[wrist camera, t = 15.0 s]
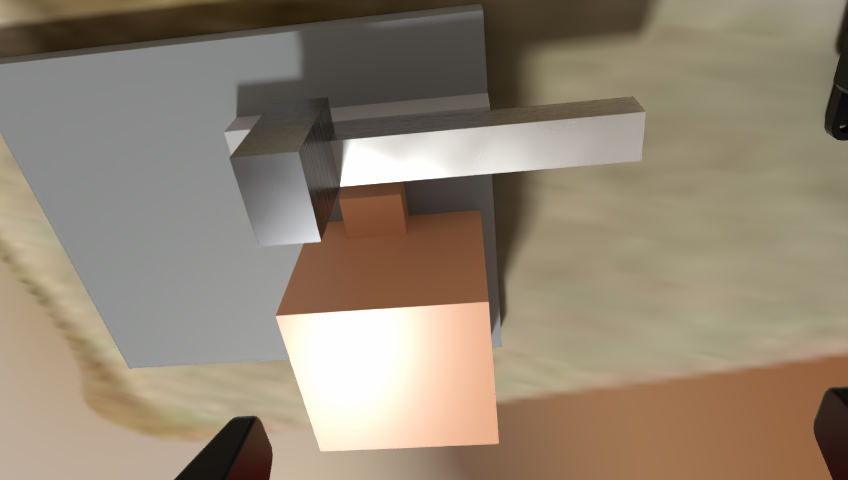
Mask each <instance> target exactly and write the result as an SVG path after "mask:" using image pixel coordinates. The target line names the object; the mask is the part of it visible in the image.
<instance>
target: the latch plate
mask: <svg viewBox="0 0 848 480" xmlns="http://www.w3.org/2000/svg"><path fill="white" fill-rule="evenodd" d="M325 97H328V102H329V107H330V111H331V116H332V121H333V125H340V124H351V123H361V122H372V121H382V120H393V119H403V118H414V117H424V116H434V115H445V114H455V113H466V112H476V111H487V110H490V103H489V97H488V88H487V70H486V52H485V34H484V16H483V7H482V3H480V4H472V5H463V6H454V7H445V8H436V9H427V10H419V11H410V12H401V13H392V14H383V15H374V16H365V17H357V18H348V19H339V20H330V21H321V22H312V23H304V24H295V25H286V26H277V27H268V28H259V29H251V30H242V31H233V32H224V33H215V34H206V35H198V36H189V37H180V38H171V39H162V40H153V41H145V42H136V43H127V44H118V45H109V46H100V47H92V48H83V49H74V50H65V51H56V52H47V53H38V54H30V55H21V56H12V57H3V58H0V133H1V135H2V136H3V138H4V140H5V142H6V144H7V146H8V147H9V149H10V151H11V153H12V155H13V157H14V158H15V160H16V162H17V164H18V166H19V168H20V169H21V171H22V173H23V175H24V177H25V179H26V180H27V182H28V184H29V186H30V188H31V190H32V191H33V193H34V195H35V197H36V199H37V201H38V202H39V204H40V206H41V208H42V210H43V212H44V213H45V215H46V217H47V219H48V221H49V222H50V224H51V226H52V228H53V230H54V232H55V233H56V235H57V237H58V239H59V241H60V243H61V244H62V246H63V248H64V250H65V252H66V254H67V255H68V257H69V259H70V261H71V263H72V265H73V266H74V268H75V270H76V272H77V274H78V276H79V277H80V279H81V281H82V283H83V285H84V287H85V288H86V290H87V292H88V294H89V296H90V298H91V299H92V301H93V303H94V305H95V307H96V309H97V310H98V312H99V314H100V316H101V318H102V320H103V321H104V323H105V325H106V327H107V329H108V331H109V332H110V334H111V336H112V338H113V340H114V342H115V343H116V345H117V347H118V349H119V351H120V353H121V354H122V356H123V358H124V360H125V362H126V364H127V365H128V367H129V368H145V367H163V366H180V365H198V364H215V363H233V362H250V361H268V360H285V359H290V358H289V355H288V352H287V349H286V346H285V343H284V340H283V337H282V334H281V331H280V328H279V325H278V322H277V319H276V313H277V311H278V308H279V306H280V303H281V301H282V298H283V295H284V293H285V290H286V288H287V285H288V283H289V280H290V277H291V275H292V272H293V270H294V267H295V265H296V262H297V259H298V257H299V254H300V252H301V249H302V247H303V244H304V243H299V244H285V245H272V246H259V247H258V245H257V242H256V239H255V236H254V233H253V230H252V226H251V223H250V220H249V217H248V214H247V211H246V208H245V205H244V202H243V199H242V196H241V193H240V190H239V186H238V183H237V180H236V177H235V174H234V171H233V168H232V165H231V162H230V159H229V158H230V156H231V155H232V154H233V152H234V151H235V150H236V149H237V147H238V146H239V145H240V143H241V142H242V141H243V139H244V138H245V137H246V135H247V134H248V133H249V131H250V130H251V129H252V127H253V126H254V125H255V124H256V122H257V121H258V120H259V118H260V117H261V116H262V114H263V113H264V112H265V110H266V109H267V108H268V106H269V105H270V104H271V103H275V102H285V101H295V100H305V99H315V98H325ZM404 187H405V194H406V200H407V207H408V213H409V216H412V215H425V214H437V213H449V212H461V211H474V210H481V221H482V232H483V243H484V255H485V266H486V277H487V288H488V299H489V313H490V327H491V341H492V348H496V347H502V342H501V324H500V306H499V288H498V269H497V251H496V233H495V215H494V197H493V179H492V174H481V175H469V176H457V177H446V178H434V179H422V180H411V181H404ZM342 189H343V186H340V189H339V191H338V194H337V197H336V200H335V203H334V206H333V209H332V212H331V215H330V218H329V221H328V222H339V221H344V220H343V216H342V211H341V207H340V202H339V198H340V195H341V192H342Z"/></svg>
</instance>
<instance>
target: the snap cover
mask: <svg viewBox="0 0 848 480" xmlns="http://www.w3.org/2000/svg"><path fill="white" fill-rule="evenodd" d="M339 202H340V207H341V211H342V216H343V220H344V221H339V222H328V223H327V226H326V229H325V232H324V235H323V238H322V241H321V242H312V243H304V244H303V247H302V249H301V252H300V254H299V257H298V259H297V262H296V265H295V267H294V270H293V272H292V275H291V277H290V280H289V283H288V285H287V288H286V290H285V293H284V295H283V298H282V301H281V303H280V306H279V308H278V311H277V313H276V319H277V322H278V325H279V328H280V331H281V334H282V337H283V340H284V343H285V346H286V349H287V352H288V355H289V358H290V361H291V364H292V367H293V370H294V373H295V376H296V379H297V382H298V385H299V388H300V391H301V394H302V397H303V400H304V403H305V406H306V409H307V412H308V415H309V418H310V421H311V424H312V427H313V430H314V433H315V436H316V439H317V442H318V444H319V447H320V450H321V451H340V450H362V449H363V450H364V449H385V448H410V447H434V446H454V445H455V446H457V445H480V444H498V443H499V440H498V425H497V411H496V397H495V383H494V369H493V355H492V341H491V327H490V313H489V299H488V288H487V277H486V266H485V255H484V243H483V232H482V221H481V210H474V211H461V212H449V213H437V214H425V215H412V216H409V213H408V207H407V200H406V194H405V187H404V181H399V182H387V183H375V184H364V185H352V186H343V189H342V192H341V195H340V198H339Z"/></svg>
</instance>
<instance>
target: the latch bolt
mask: <svg viewBox="0 0 848 480" xmlns="http://www.w3.org/2000/svg"><path fill="white" fill-rule="evenodd" d="M645 116H646V111H645V110H644V109H643V108H642V106H641V105H640V104H639V103H638V101H637V100H636V99H635V98H634V96H633V97H623V98H612V99H602V100H591V101H581V102H570V103H560V104H549V105H539V106H529V107H518V108H508V109H497V110H487V111H476V112H466V113H455V114H445V115H434V116H424V117H414V118H403V119H393V120H382V121H372V122H361V123H351V124H340V125H333V121H332V116H331V111H330V107H329V102H328V97H325V98H315V99H305V100H295V101H285V102H275V103H271V104H270V105H269V106H268V108H267V109H266V110H265V112H264V113H263V114H262V116H261V117H260V118H259V120H258V121H257V122H256V124H255V125H254V126H253V127H252V129H251V130H250V131H249V133H248V134H247V135H246V137H245V138H244V139H243V141H242V142H241V143H240V145H239V146H238V147H237V149H236V150H235V151H234V152H233V154H232V155H231V156H230V158H229V159H230V162H231V165H232V168H233V171H234V174H235V177H236V180H237V183H238V186H239V190H240V193H241V196H242V199H243V202H244V205H245V208H246V211H247V214H248V217H249V220H250V223H251V226H252V230H253V233H254V236H255V239H256V242H257V245H258V247H259V246H272V245H285V244H299V243H312V242H321V241H322V238H323V235H324V232H325V229H326V226H327V223H328V221H329V218H330V215H331V212H332V209H333V206H334V203H335V200H336V197H337V194H338V191H339V189H340V186H352V185H364V184H375V183H387V182H399V181H411V180H422V179H434V178H446V177H457V176H469V175H481V174H493V173H504V172H516V171H528V170H540V169H551V168H563V167H575V166H586V165H598V164H610V163H622V162H633V161H641V157H642V147H643V137H644V127H645Z"/></svg>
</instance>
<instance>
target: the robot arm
mask: <svg viewBox="0 0 848 480" xmlns="http://www.w3.org/2000/svg"><path fill="white" fill-rule="evenodd" d="M834 84H835V88H834V91H833V95H832V99H831V102H830V106H829V109H828V113H827V117H826V120H825V130H826V132H827V133H828V134H830V135H831V136H832V137H834V138H836V139H837V140H844V141H845V140H848V124H847V125H846V126H845V127H843V128H840V125H841V124H842V122H844V121H845V120H846V119H848V29H847V33H846V36H845V40H844V43H843V47H842V51H841V54H840V58H839V62H838V65H837V69H836V73H835V76H834ZM814 434H815V438H816V440H817V442H818V445H819V448H820V450H821V453H822V455H823V457H824V460H825V462H826V464H827V467H828V469H829V472H830V474H831V476H832V479H833V480H848V386H847V387H832V388H829V389H828V390H827V391H825V393H824V396H823V399H822V401H821V404H820V407H819V409H818V412H817V415H816V417H815V420H814ZM272 456H273V454H272V447H271V444H270V442H269V439H268V436H267V434H266V432H265V429H264V427H263V424H262V422H261V420H260V419H259V418H258V417H257V416H241V417H235V418H233V419H232V420H230V421H229V422H228V423H227V424H226V425H225V426H224V428H223V429H222V430H221V431H220V432H219V433H218V434H217V435H216V436H215V437H214V438H213V439H212V440H211V441H210V442H209V443H208V444H207V445H206V447H205V448H204V449H203V450H202V451H201V452H200V453H199V454H198V455H197V456H196V457H195V458H194V459H193V460H192V461H191V462H190V463H189V464H188V465H187V467H186V468H185V469H184V470H183V471H182V472H181V473H180V474H179V475H178V476H177V477H176V478H175V479H174V480H269V479H270V472H271V466H272Z"/></svg>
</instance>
